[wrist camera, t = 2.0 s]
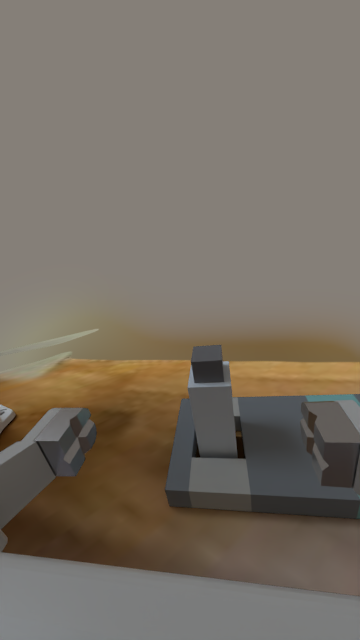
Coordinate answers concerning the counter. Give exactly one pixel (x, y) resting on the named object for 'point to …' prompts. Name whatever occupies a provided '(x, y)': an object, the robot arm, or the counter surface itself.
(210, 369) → the plug
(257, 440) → the panel
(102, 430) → the counter surface
